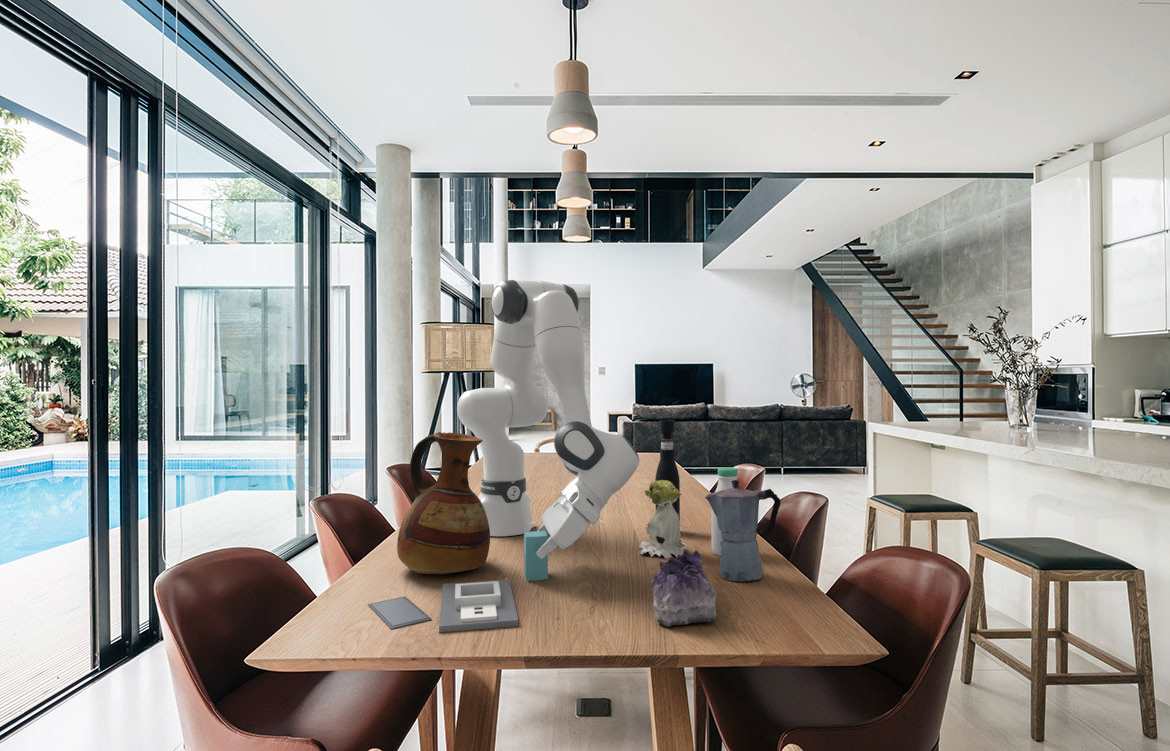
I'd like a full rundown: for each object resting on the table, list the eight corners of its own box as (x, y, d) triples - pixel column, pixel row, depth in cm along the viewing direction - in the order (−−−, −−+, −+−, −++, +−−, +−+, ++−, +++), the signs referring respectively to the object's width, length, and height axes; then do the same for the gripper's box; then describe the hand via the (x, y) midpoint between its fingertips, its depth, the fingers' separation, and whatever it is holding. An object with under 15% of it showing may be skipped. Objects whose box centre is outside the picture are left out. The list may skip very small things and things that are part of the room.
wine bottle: (656, 529, 174) (655, 419, 174) (679, 530, 173) (679, 419, 173) (655, 535, 167) (654, 421, 167) (680, 536, 166) (679, 421, 166)
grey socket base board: (443, 588, 126) (442, 573, 126) (508, 584, 129) (508, 569, 129) (439, 632, 105) (439, 614, 105) (518, 625, 107) (518, 608, 107)
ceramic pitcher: (472, 586, 128) (471, 437, 128) (379, 581, 132) (378, 436, 132) (502, 558, 147) (501, 428, 147) (420, 554, 151) (419, 428, 151)
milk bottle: (745, 558, 146) (745, 471, 146) (711, 556, 147) (710, 470, 147) (744, 549, 153) (743, 466, 153) (711, 548, 155) (710, 465, 155)
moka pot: (702, 569, 138) (701, 476, 138) (774, 569, 138) (773, 476, 138) (709, 583, 129) (708, 484, 129) (786, 583, 128) (785, 483, 128)
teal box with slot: (524, 574, 135) (523, 531, 135) (545, 572, 136) (545, 530, 136) (526, 581, 131) (525, 537, 131) (548, 579, 132) (547, 535, 132)
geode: (648, 590, 126) (654, 539, 126) (707, 600, 124) (714, 548, 124) (645, 626, 105) (653, 565, 106) (716, 638, 104) (724, 577, 104)
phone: (391, 633, 106) (391, 628, 106) (367, 608, 118) (367, 603, 118) (431, 623, 110) (431, 618, 110) (405, 600, 122) (404, 595, 122)
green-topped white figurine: (684, 545, 158) (683, 476, 158) (689, 558, 146) (689, 484, 146) (638, 544, 158) (638, 476, 158) (640, 558, 146) (640, 484, 146)
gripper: (562, 482, 145) (520, 528, 143) (579, 499, 125) (529, 552, 123) (582, 501, 146) (540, 546, 144) (601, 521, 126) (552, 574, 124)
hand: (535, 549), depth 134 cm, fingers open, 8 cm apart
